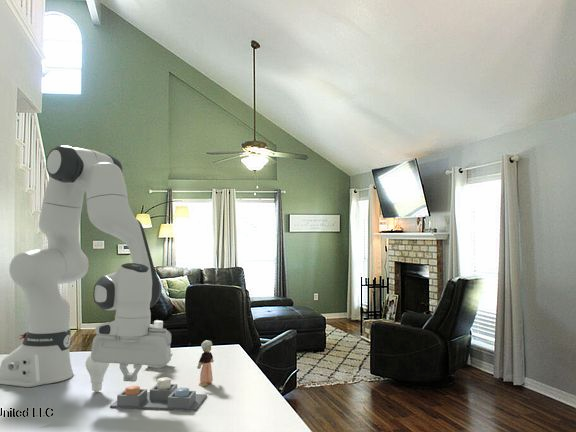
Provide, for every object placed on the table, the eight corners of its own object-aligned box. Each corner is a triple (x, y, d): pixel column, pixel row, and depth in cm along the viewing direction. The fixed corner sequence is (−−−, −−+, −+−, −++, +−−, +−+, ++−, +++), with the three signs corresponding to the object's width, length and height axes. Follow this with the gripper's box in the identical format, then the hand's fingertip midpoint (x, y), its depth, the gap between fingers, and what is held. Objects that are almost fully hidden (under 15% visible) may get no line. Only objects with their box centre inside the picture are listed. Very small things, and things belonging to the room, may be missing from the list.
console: (110, 407, 118) (110, 395, 118) (128, 393, 129) (128, 382, 129) (195, 411, 116) (196, 398, 116) (206, 396, 127) (207, 385, 127)
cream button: (154, 392, 123) (155, 381, 123) (159, 388, 127) (159, 377, 127) (168, 393, 123) (168, 381, 123) (172, 389, 126) (172, 377, 127)
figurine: (174, 363, 160) (175, 319, 161) (158, 370, 151) (159, 323, 152) (156, 361, 162) (157, 317, 163) (139, 368, 153) (140, 322, 154)
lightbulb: (84, 390, 131) (86, 350, 131) (108, 387, 133) (109, 348, 134) (84, 397, 125) (85, 355, 126) (109, 394, 128) (110, 353, 128)
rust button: (122, 402, 119) (122, 389, 119) (128, 397, 122) (128, 385, 122) (136, 402, 118) (136, 390, 119) (141, 397, 122) (142, 386, 122)
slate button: (172, 403, 118) (172, 391, 118) (177, 399, 121) (177, 387, 121) (186, 404, 117) (186, 392, 118) (190, 399, 121) (191, 387, 121)
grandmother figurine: (207, 388, 134) (208, 343, 135) (195, 387, 135) (195, 342, 135) (217, 380, 141) (217, 337, 142) (205, 379, 142) (205, 337, 143)
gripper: (175, 326, 123) (173, 379, 123) (101, 322, 125) (98, 375, 125) (167, 331, 117) (165, 387, 116) (89, 327, 119) (86, 382, 118)
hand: (130, 380), depth 121 cm, fingers closed
